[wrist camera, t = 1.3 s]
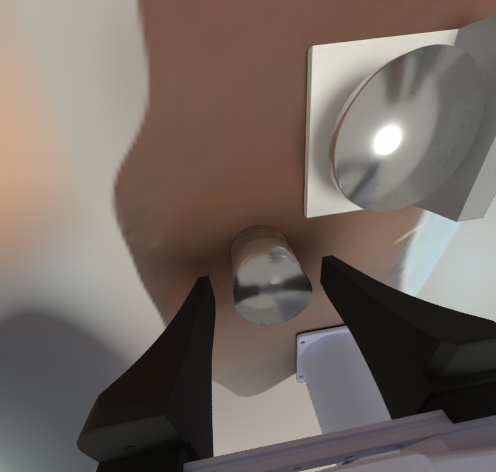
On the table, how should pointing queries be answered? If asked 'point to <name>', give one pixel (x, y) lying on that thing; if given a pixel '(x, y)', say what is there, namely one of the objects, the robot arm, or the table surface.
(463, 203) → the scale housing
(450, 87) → the pan
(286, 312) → the cylinder
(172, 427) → the robot arm
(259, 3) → the table surface
